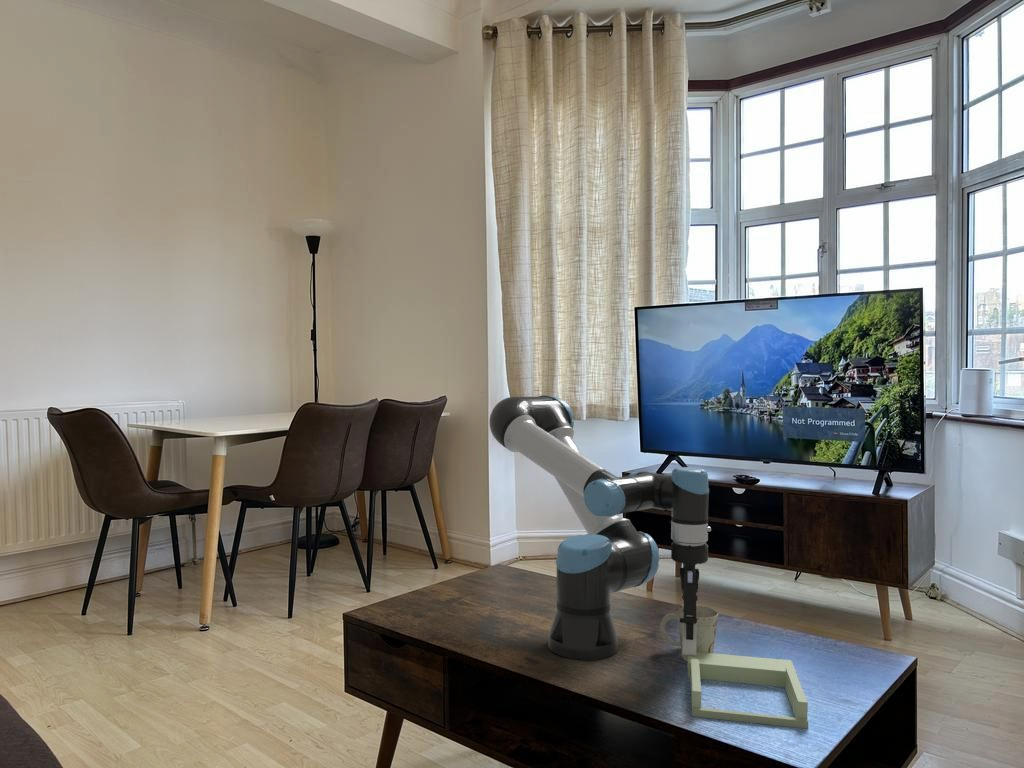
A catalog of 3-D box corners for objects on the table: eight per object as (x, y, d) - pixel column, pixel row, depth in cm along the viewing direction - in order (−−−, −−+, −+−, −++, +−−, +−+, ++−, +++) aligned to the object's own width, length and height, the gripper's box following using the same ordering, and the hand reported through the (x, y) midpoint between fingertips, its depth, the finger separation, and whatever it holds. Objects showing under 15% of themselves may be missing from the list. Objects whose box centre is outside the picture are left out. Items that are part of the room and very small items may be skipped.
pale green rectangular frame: (689, 715, 129) (689, 693, 129) (687, 665, 151) (687, 646, 151) (811, 728, 125) (811, 705, 125) (791, 675, 147) (791, 655, 147)
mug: (710, 670, 149) (711, 620, 149) (651, 656, 156) (652, 609, 156) (722, 656, 156) (723, 609, 156) (665, 644, 163) (666, 599, 163)
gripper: (710, 557, 143) (709, 666, 143) (705, 531, 167) (704, 624, 167) (670, 554, 144) (670, 663, 144) (671, 529, 169) (670, 621, 169)
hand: (688, 643), depth 156 cm, fingers open, 13 cm apart
